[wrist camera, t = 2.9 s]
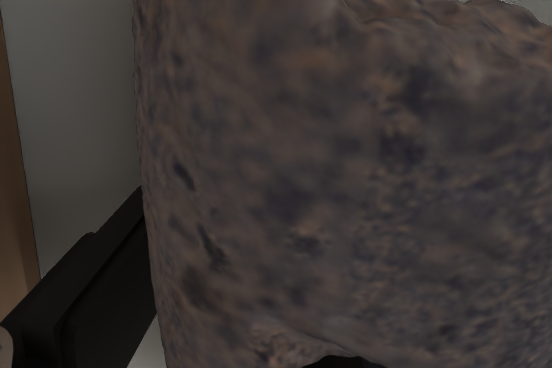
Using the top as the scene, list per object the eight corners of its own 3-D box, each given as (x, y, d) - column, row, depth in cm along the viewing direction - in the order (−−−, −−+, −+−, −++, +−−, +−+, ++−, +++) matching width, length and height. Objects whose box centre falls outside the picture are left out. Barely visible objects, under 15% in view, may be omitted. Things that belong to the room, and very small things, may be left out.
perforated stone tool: (393, 428, 14) (419, 770, 8) (243, 401, 15) (167, 699, 9) (543, -101, 7) (1644, -393, 1) (234, -106, 8) (-203, -297, 2)
